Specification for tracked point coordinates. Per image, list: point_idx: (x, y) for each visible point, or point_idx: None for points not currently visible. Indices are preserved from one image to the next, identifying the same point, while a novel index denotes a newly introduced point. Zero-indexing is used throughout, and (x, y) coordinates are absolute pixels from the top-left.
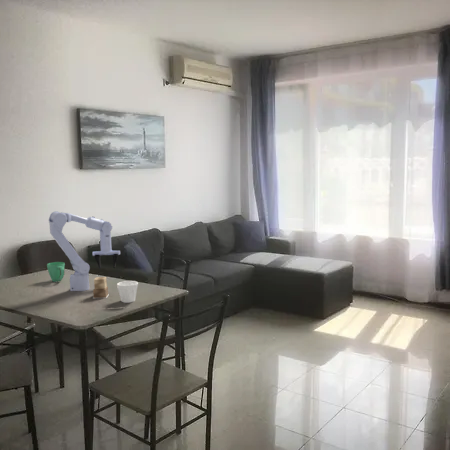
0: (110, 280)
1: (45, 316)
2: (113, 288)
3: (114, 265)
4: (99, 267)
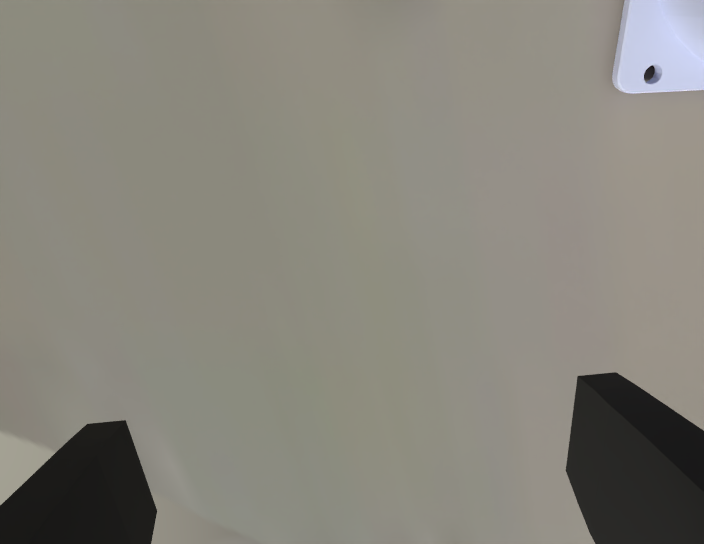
0: (385, 509)
1: None
2: (192, 40)
3: (29, 486)
4: (631, 396)
